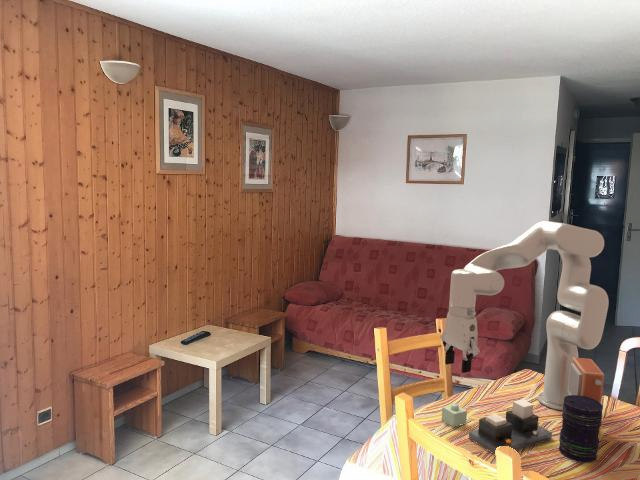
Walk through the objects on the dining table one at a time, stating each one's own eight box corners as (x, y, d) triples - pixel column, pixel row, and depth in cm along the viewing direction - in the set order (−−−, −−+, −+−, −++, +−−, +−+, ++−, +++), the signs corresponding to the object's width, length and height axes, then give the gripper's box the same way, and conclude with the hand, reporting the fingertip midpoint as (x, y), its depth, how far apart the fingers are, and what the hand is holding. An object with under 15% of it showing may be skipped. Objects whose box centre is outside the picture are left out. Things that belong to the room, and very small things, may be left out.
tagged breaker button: (494, 429, 155) (495, 413, 155) (505, 435, 152) (506, 419, 151) (484, 432, 154) (485, 416, 153) (494, 439, 150) (496, 422, 149)
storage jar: (592, 446, 152) (597, 397, 149) (602, 465, 142) (608, 413, 140) (554, 441, 154) (559, 393, 152) (562, 459, 144) (567, 408, 142)
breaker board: (521, 422, 165) (522, 404, 164) (551, 438, 155) (553, 419, 154) (468, 438, 154) (470, 418, 153) (497, 456, 145) (499, 436, 144)
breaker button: (521, 414, 160) (522, 399, 160) (531, 420, 157) (533, 404, 156) (511, 417, 158) (513, 401, 158) (522, 423, 155) (524, 407, 154)
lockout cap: (454, 416, 167) (455, 400, 167) (465, 424, 163) (467, 406, 162) (441, 420, 165) (442, 403, 164) (453, 427, 160) (454, 410, 160)
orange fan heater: (585, 423, 166) (600, 447, 151) (561, 420, 167) (574, 444, 153) (592, 357, 163) (608, 376, 148) (568, 355, 164) (581, 373, 150)
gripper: (492, 317, 153) (487, 376, 156) (451, 302, 168) (447, 356, 171) (473, 320, 150) (469, 380, 152) (432, 304, 165) (429, 360, 167)
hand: (457, 367), depth 161 cm, fingers open, 6 cm apart
